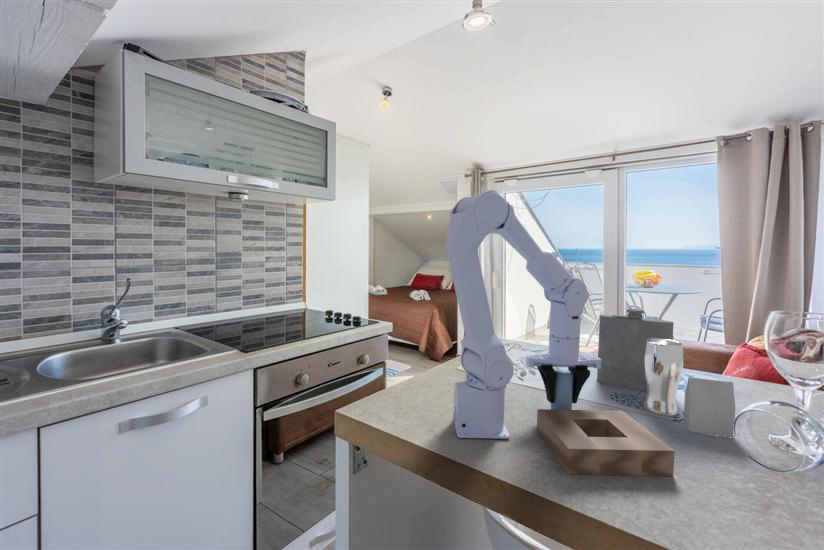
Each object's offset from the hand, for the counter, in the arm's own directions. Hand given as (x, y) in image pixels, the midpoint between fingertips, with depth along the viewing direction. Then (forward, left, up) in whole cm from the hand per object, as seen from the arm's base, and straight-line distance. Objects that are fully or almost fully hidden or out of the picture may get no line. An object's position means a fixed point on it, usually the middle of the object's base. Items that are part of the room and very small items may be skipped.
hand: (561, 401), depth 75 cm
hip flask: (+25, +18, -3) cm, 31 cm away
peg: (0, 0, -3) cm, 3 cm away
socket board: (+1, -13, -3) cm, 13 cm away
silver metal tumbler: (+23, +4, -3) cm, 24 cm away
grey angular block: (+26, -5, -3) cm, 27 cm away
